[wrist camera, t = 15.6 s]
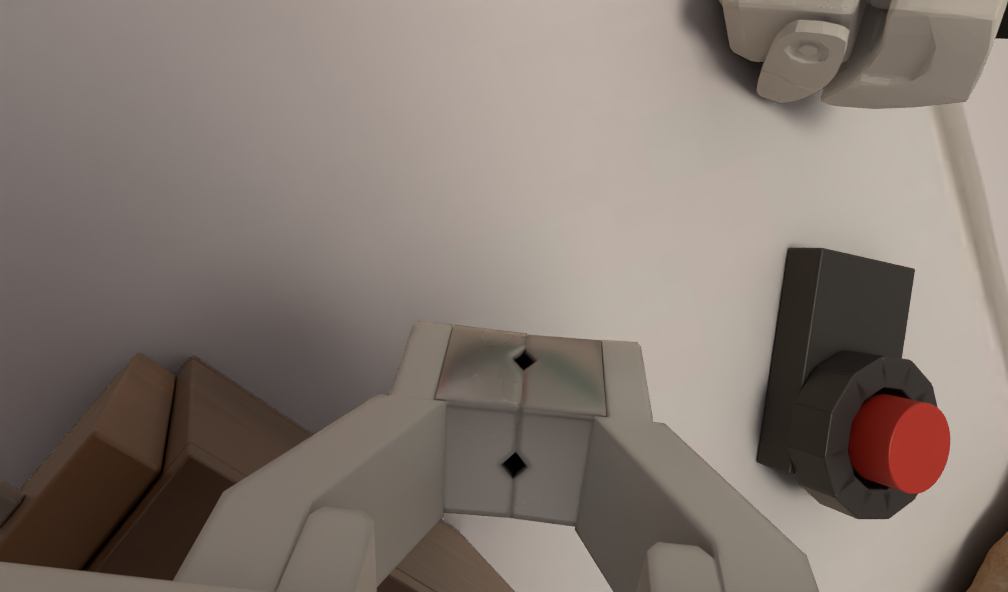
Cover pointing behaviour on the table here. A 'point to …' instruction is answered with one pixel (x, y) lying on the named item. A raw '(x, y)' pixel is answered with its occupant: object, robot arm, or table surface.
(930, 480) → the button
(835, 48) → the white blocky piece
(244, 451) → the cabinet
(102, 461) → the drawer
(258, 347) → the table surface
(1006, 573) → the stone
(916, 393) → the button box
